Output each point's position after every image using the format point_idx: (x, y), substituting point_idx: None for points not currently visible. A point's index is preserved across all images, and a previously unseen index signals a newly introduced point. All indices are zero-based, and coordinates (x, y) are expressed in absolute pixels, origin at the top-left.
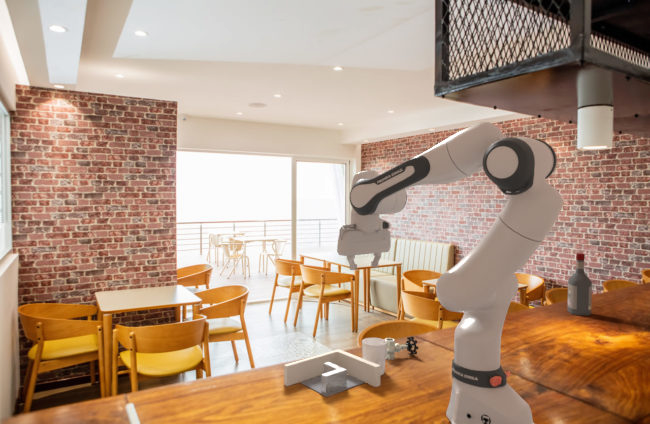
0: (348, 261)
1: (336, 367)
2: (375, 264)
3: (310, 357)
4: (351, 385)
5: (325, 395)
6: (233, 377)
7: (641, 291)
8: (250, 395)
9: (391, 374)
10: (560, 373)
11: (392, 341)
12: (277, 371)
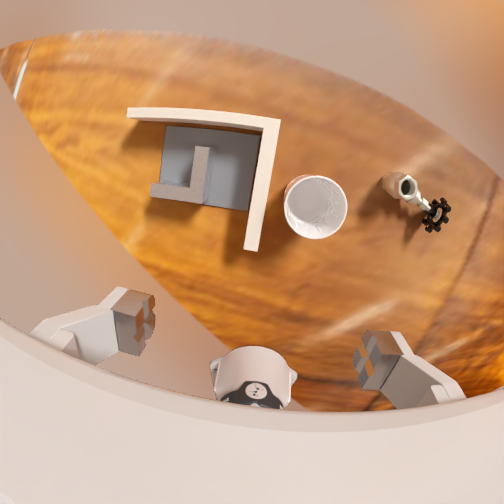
0: (73, 314)
1: (196, 180)
2: (360, 374)
3: (190, 110)
4: (218, 202)
5: None
6: (118, 43)
7: None
8: (92, 113)
9: None
10: None
11: (403, 197)
12: (179, 59)
